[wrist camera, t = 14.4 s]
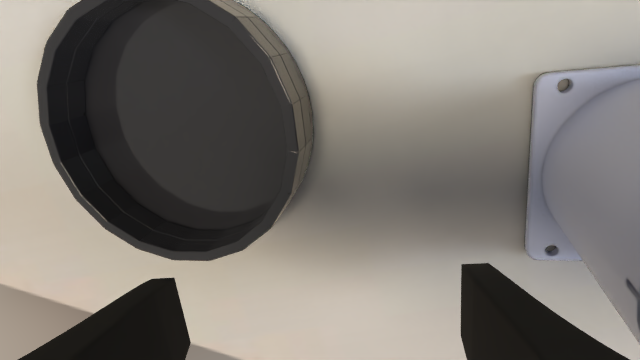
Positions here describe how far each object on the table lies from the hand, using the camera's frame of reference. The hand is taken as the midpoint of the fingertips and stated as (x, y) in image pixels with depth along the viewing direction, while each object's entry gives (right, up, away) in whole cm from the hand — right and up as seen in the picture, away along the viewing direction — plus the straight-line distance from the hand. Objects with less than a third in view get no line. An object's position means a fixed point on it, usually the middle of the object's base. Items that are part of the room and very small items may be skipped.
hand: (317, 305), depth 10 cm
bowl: (-6, +6, +10) cm, 13 cm away
